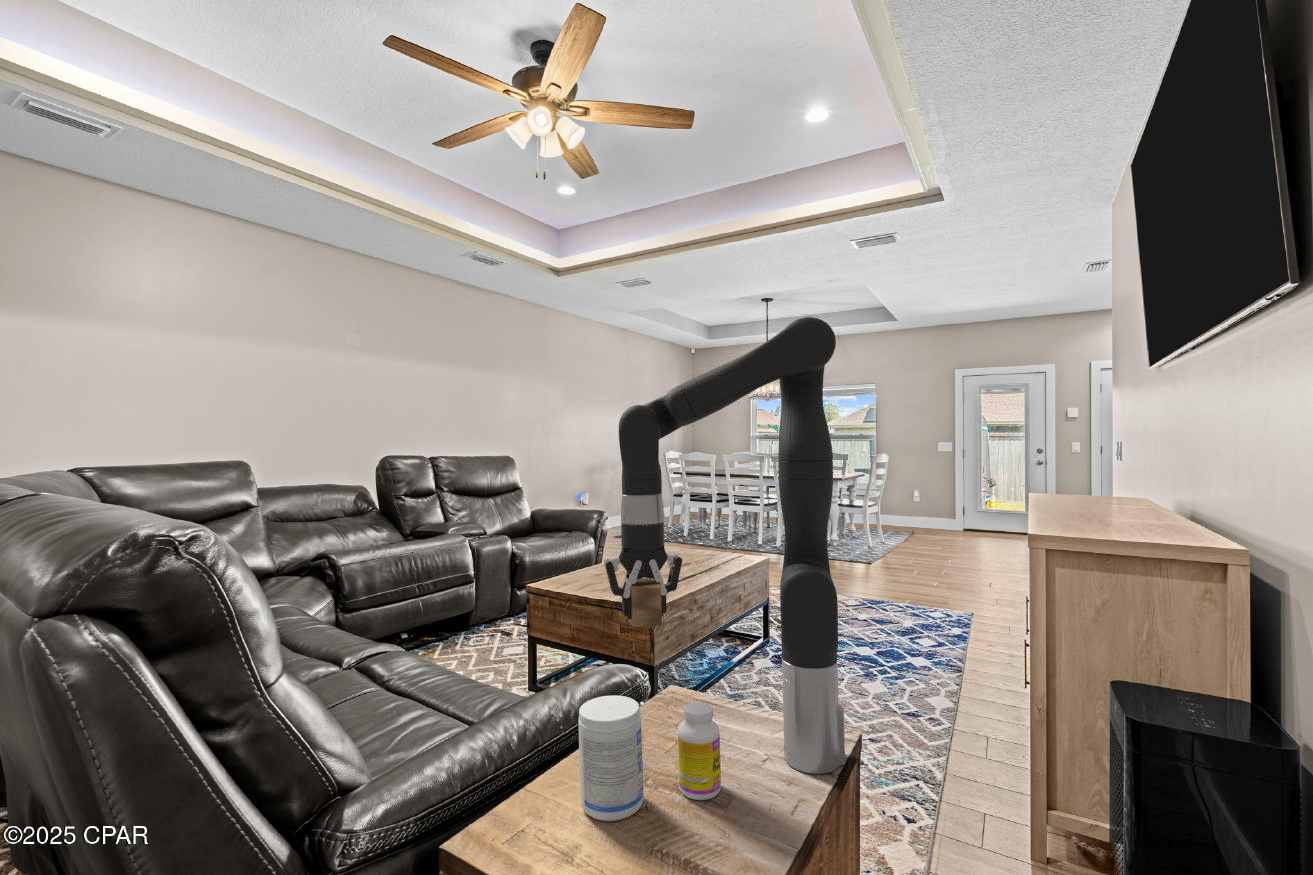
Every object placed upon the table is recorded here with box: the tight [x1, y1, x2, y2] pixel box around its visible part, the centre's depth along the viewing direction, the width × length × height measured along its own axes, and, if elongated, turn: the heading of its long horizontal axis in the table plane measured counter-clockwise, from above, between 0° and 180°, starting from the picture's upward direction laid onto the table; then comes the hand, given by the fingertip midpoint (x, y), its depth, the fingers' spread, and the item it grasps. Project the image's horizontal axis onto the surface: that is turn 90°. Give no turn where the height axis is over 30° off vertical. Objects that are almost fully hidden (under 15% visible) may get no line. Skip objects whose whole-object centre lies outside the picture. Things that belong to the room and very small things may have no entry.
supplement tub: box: [578, 695, 645, 822], centre depth 90 cm, size 10×10×15 cm
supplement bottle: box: [677, 701, 722, 801], centre depth 94 cm, size 7×7×13 cm
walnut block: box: [628, 578, 663, 629], centre depth 104 cm, size 5×5×7 cm
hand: (644, 616), depth 104 cm, fingers closed on walnut block, 5 cm apart
